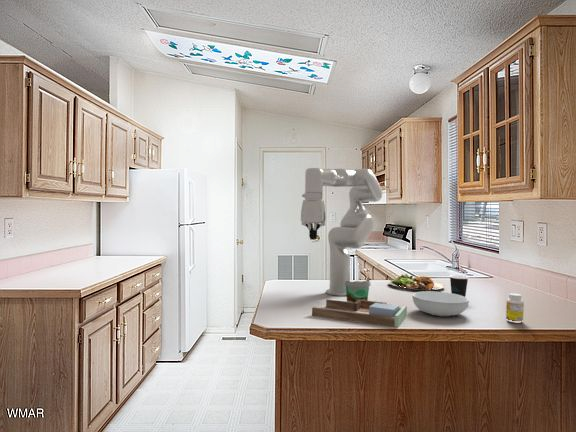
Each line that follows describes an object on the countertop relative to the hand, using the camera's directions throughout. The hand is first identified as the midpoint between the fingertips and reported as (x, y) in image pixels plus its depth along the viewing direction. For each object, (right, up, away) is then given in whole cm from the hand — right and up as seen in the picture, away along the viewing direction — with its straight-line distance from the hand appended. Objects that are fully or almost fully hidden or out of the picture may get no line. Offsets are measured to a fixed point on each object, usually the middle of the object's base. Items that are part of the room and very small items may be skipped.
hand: (313, 239), depth 185 cm
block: (+24, -28, -29) cm, 47 cm away
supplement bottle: (+72, -29, -28) cm, 83 cm away
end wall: (+30, -28, -29) cm, 51 cm away
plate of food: (+56, -27, +38) cm, 73 cm away
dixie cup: (+65, -28, +5) cm, 71 cm away
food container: (+20, -28, -3) cm, 34 cm away
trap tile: (+22, -28, -14) cm, 38 cm away
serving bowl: (+49, -29, -17) cm, 59 cm away
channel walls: (+17, -28, -20) cm, 38 cm away
